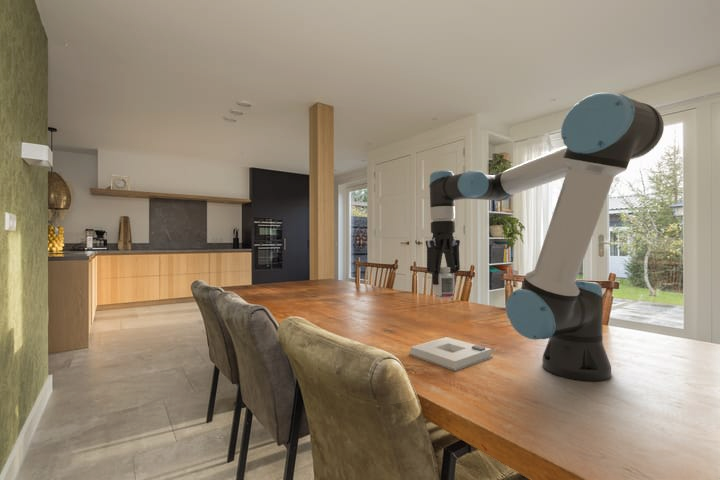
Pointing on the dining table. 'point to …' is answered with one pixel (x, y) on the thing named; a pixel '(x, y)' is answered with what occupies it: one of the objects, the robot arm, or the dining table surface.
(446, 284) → the pill bottle
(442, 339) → the socket plate
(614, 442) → the dining table surface
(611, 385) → the dining table surface
